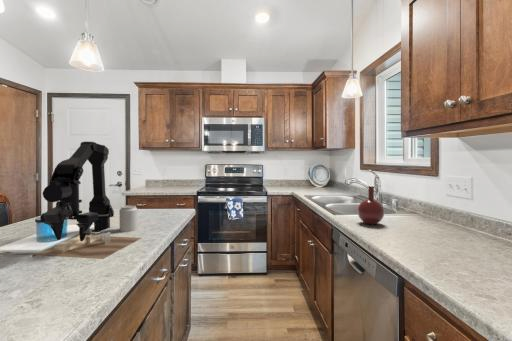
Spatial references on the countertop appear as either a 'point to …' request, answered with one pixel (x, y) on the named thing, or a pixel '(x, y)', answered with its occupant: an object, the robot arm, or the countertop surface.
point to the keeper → (104, 235)
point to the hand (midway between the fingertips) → (70, 240)
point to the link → (74, 243)
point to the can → (128, 218)
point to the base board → (93, 248)
